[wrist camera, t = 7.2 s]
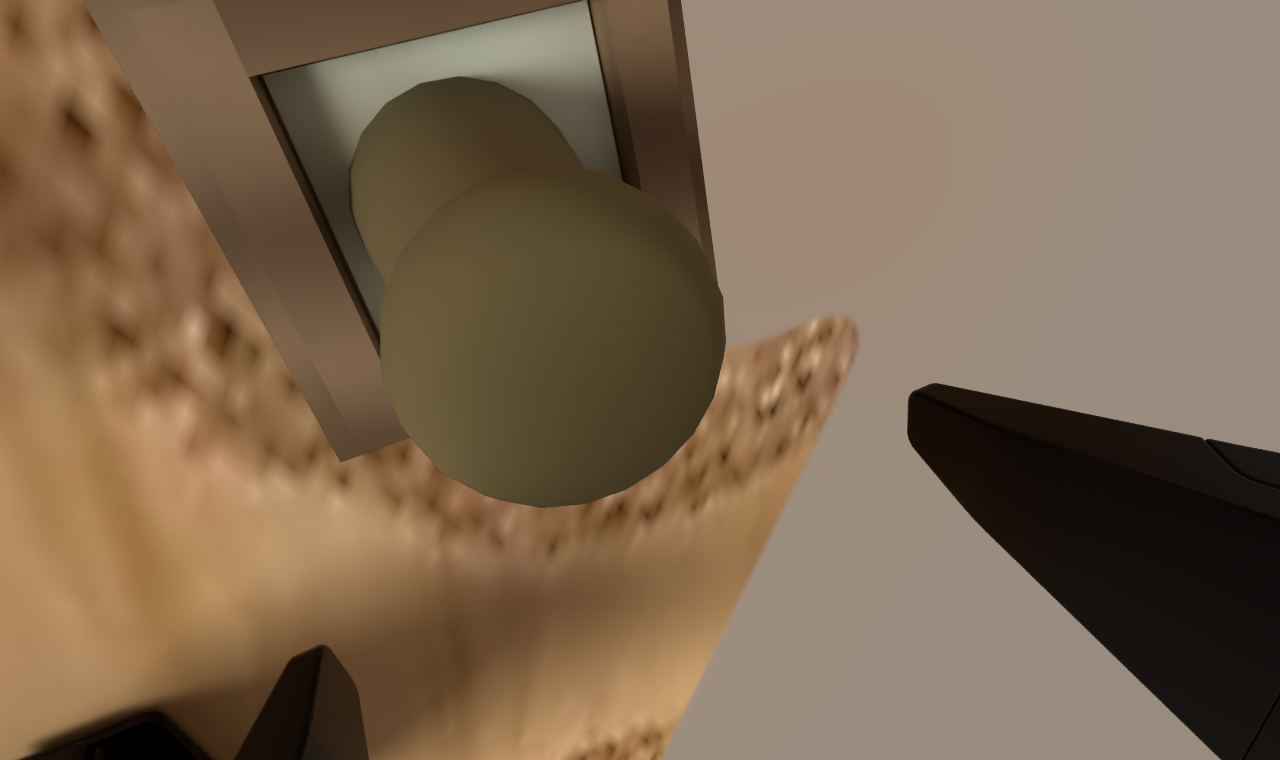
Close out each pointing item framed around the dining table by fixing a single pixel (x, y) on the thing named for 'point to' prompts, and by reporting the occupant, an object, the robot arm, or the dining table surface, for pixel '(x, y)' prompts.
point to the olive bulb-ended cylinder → (529, 299)
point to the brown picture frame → (344, 106)
